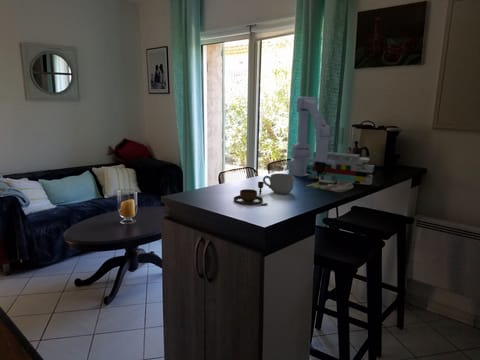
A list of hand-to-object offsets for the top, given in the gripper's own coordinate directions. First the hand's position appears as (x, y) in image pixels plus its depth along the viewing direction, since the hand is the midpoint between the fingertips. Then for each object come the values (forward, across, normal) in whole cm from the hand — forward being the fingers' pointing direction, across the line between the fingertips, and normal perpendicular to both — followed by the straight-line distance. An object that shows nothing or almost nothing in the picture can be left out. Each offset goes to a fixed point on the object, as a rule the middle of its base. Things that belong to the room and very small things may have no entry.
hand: (319, 177), depth 177 cm
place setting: (+5, -6, -46) cm, 47 cm away
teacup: (+4, -6, -29) cm, 30 cm away
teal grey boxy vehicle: (+3, +5, 0) cm, 6 cm away
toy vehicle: (+4, +5, +15) cm, 16 cm away
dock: (+5, +6, 0) cm, 7 cm away
